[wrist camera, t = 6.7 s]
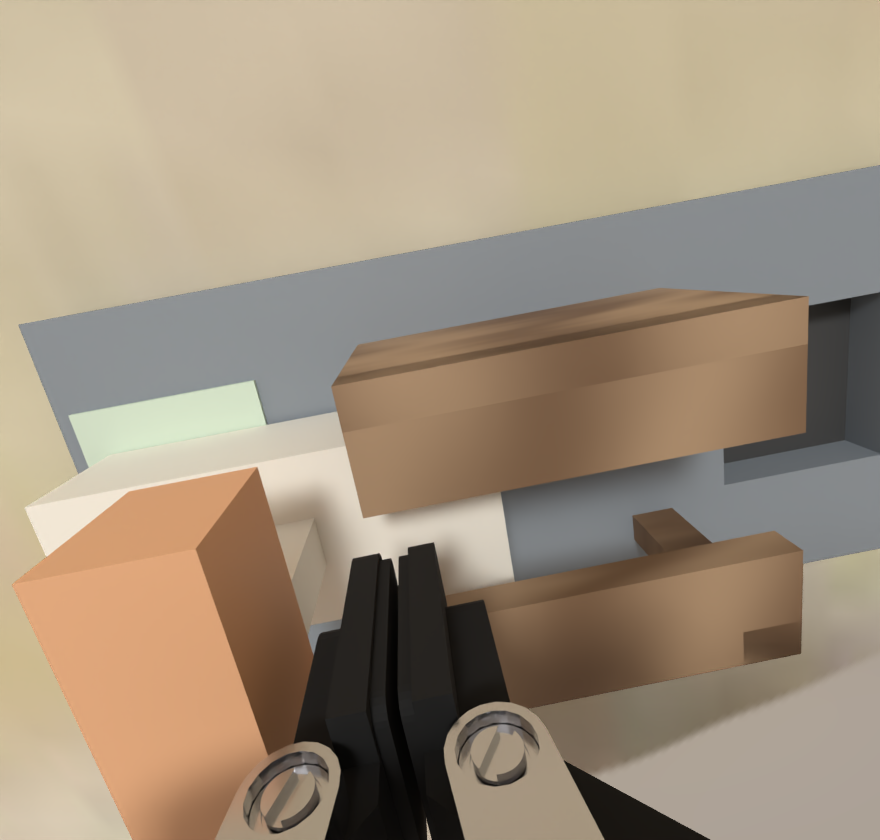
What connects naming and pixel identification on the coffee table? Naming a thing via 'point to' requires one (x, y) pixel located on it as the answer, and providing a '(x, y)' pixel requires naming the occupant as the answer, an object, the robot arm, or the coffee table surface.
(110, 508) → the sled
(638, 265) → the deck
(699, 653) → the tunnel
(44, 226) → the coffee table surface
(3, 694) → the coffee table surface
